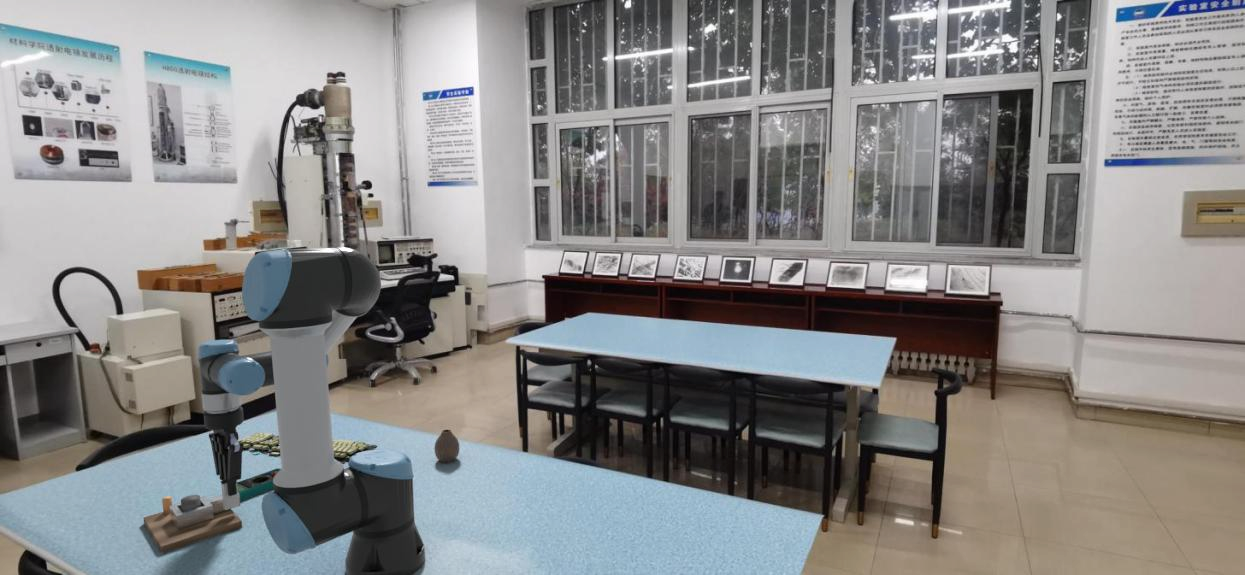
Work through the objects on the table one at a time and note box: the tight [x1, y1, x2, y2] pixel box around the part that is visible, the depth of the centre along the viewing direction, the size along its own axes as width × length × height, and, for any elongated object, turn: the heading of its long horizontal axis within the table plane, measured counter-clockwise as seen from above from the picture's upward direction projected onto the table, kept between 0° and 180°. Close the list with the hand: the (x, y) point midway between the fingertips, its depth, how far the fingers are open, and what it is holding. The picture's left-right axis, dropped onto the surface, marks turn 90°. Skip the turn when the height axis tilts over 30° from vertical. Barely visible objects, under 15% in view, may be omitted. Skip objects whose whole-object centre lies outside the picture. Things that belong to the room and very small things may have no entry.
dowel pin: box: [161, 495, 173, 514], centre depth 146 cm, size 2×2×4 cm
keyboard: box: [238, 432, 378, 465], centre depth 188 cm, size 45×15×2 cm, turn 76°
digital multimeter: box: [237, 467, 281, 502], centre depth 162 cm, size 7×15×3 cm, turn 147°
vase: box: [433, 428, 460, 463], centre depth 180 cm, size 7×7×9 cm
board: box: [143, 494, 243, 554], centre depth 143 cm, size 18×15×6 cm
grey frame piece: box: [170, 493, 241, 529], centre depth 145 cm, size 13×7×3 cm, turn 137°
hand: (231, 506), depth 145 cm, fingers closed
